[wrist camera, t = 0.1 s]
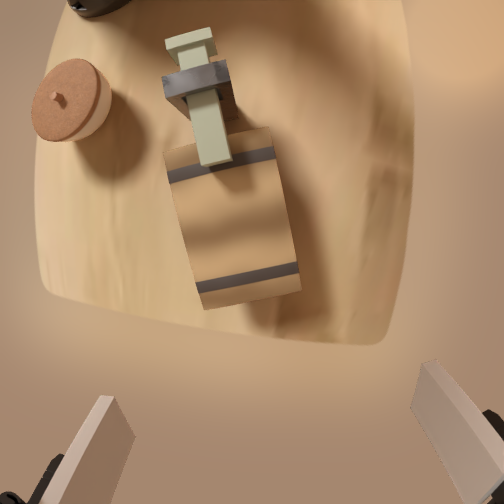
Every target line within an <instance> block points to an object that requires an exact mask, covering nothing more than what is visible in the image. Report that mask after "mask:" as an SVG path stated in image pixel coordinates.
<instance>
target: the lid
mask: <svg viewBox="0 0 504 504" xmlns="http://www.w3.org/2000/svg"><path fill="white" fill-rule="evenodd" d="M227 137H228V142H229V146H230V150H231V155H232V159H233V161H230V162H225V163H221V164H217V165H213V166H209V167H205V166H201V163H200V159H199V154H198V150H197V145H196V143H194V144H190V145H187V146H183V147H180V148H176V149H173V150H169V151H166V152H163V156H164V160H165V165H166V169H167V175H168V179H169V184H170V187H171V191H172V195H173V199H174V203H175V207H176V212H177V215H178V219H179V223H180V227H181V231H182V235H183V239H184V242H185V246H186V250H187V253H188V257H189V261H190V264H191V268H192V271H193V275H194V278H195V283H196V286H197V290H198V293H199V295H200V299H201V302H202V305H203V308H204V310H209V309H215V308H220V307H225V306H231V305H236V304H241V303H246V302H251V301H256V300H261V299H266V298H270V297H275V296H280V295H285V294H289V293H294V292H298V291H302V288H301V282H300V276H299V269H298V264H297V260H296V254H295V249H294V244H293V239H292V233H291V228H290V223H289V218H288V213H287V208H286V203H285V199H284V194H283V189H282V184H281V180H280V175H279V171H278V166H277V162H276V156H275V151H274V147H273V144H272V140H271V135H270V131H269V127H268V126H267V127H262V128H257V129H252V130H248V131H243V132H238V133H234V134H230V135H227Z"/></svg>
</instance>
